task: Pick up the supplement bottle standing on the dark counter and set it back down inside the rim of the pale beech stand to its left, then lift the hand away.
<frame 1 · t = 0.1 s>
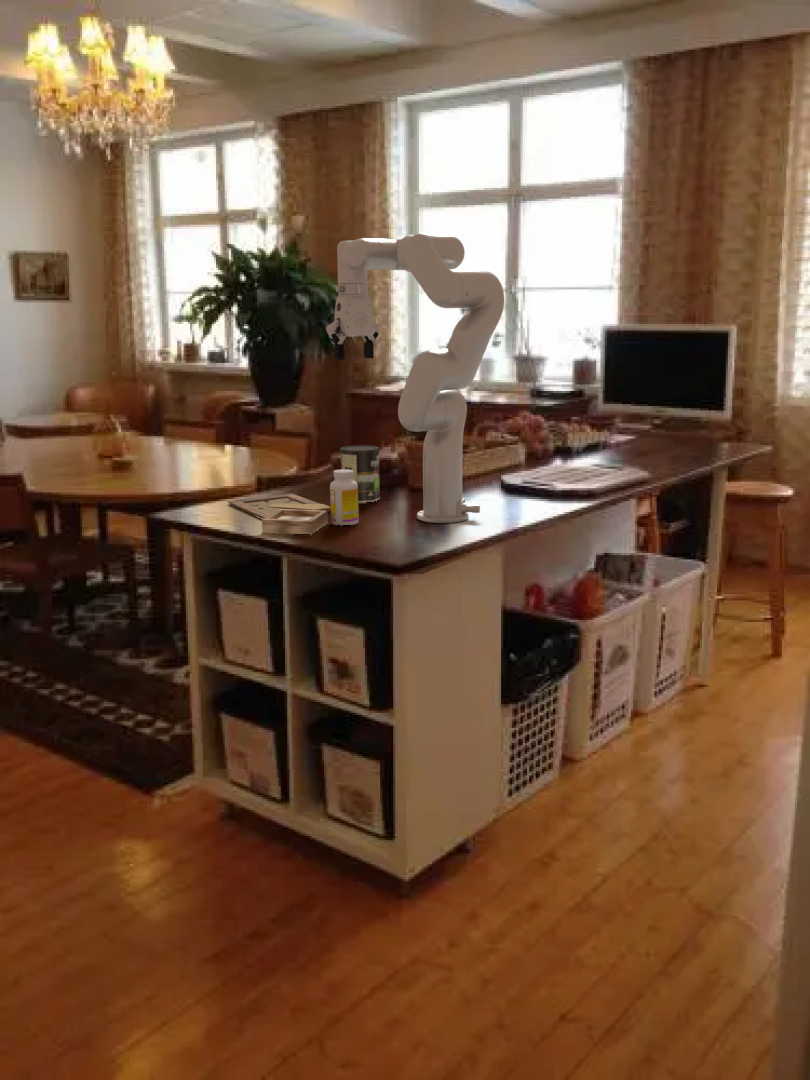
hand: (354, 359, 253), 37 cm above the countertop, tool pointing down, fingers open, 9 cm apart
supplement bottle: (345, 524, 234), on the countertop
stand: (295, 528, 230), on the countertop
coffee can: (360, 500, 262), on the countertop
picture frame: (279, 511, 253), on the countertop
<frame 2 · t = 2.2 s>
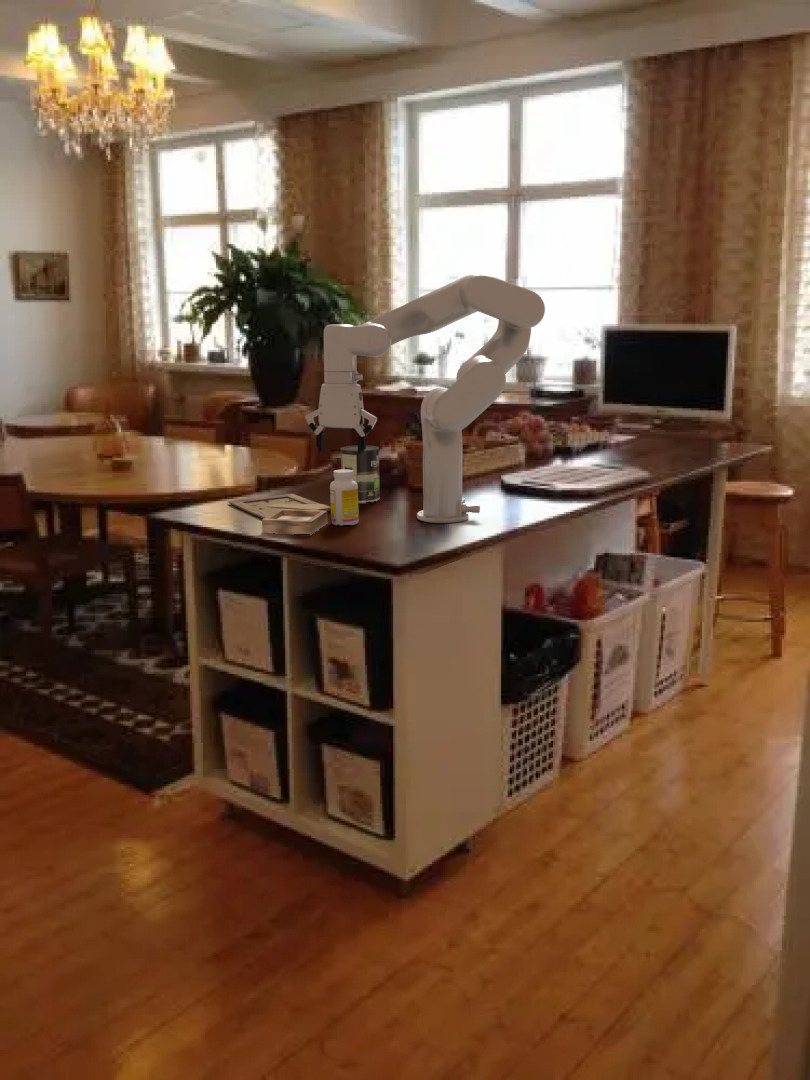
hand: (341, 451, 230), 17 cm above the countertop, tool pointing down, fingers open, 9 cm apart
nothing on the countertop moved.
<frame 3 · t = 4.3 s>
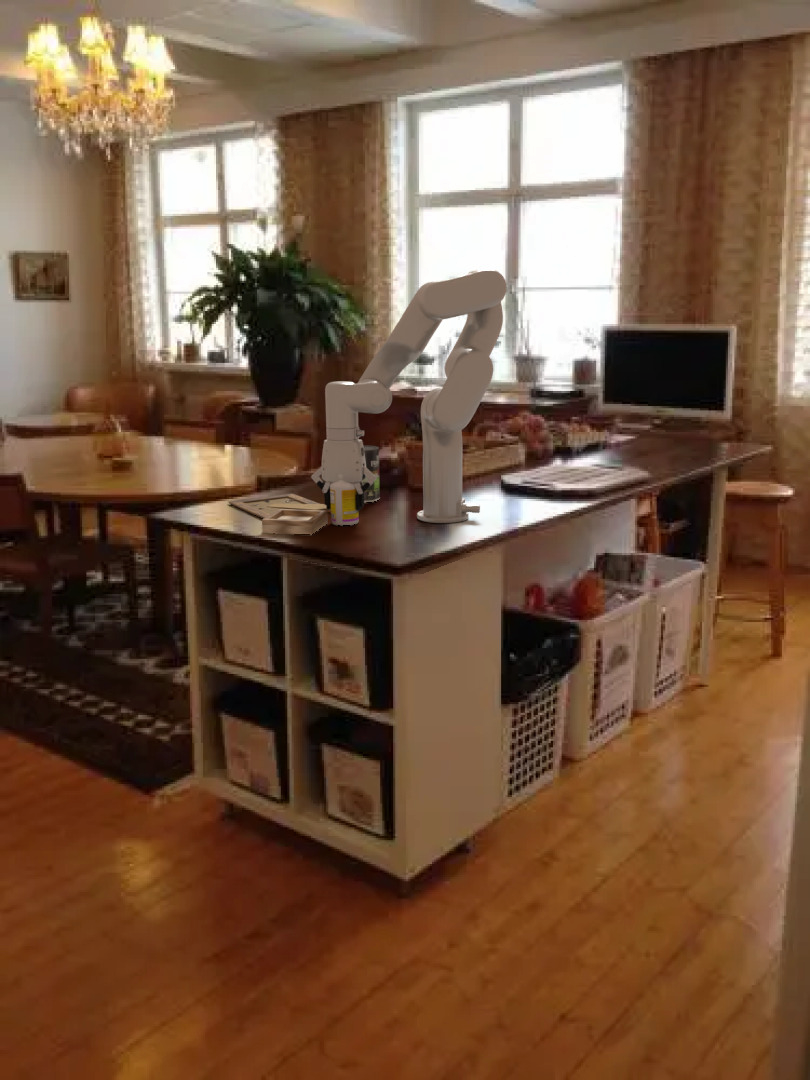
hand: (344, 508, 233), 4 cm above the countertop, tool pointing down, fingers closed on supplement bottle, 6 cm apart
supplement bottle: (344, 524, 234), on the countertop, touching gripper
everything else where it was.
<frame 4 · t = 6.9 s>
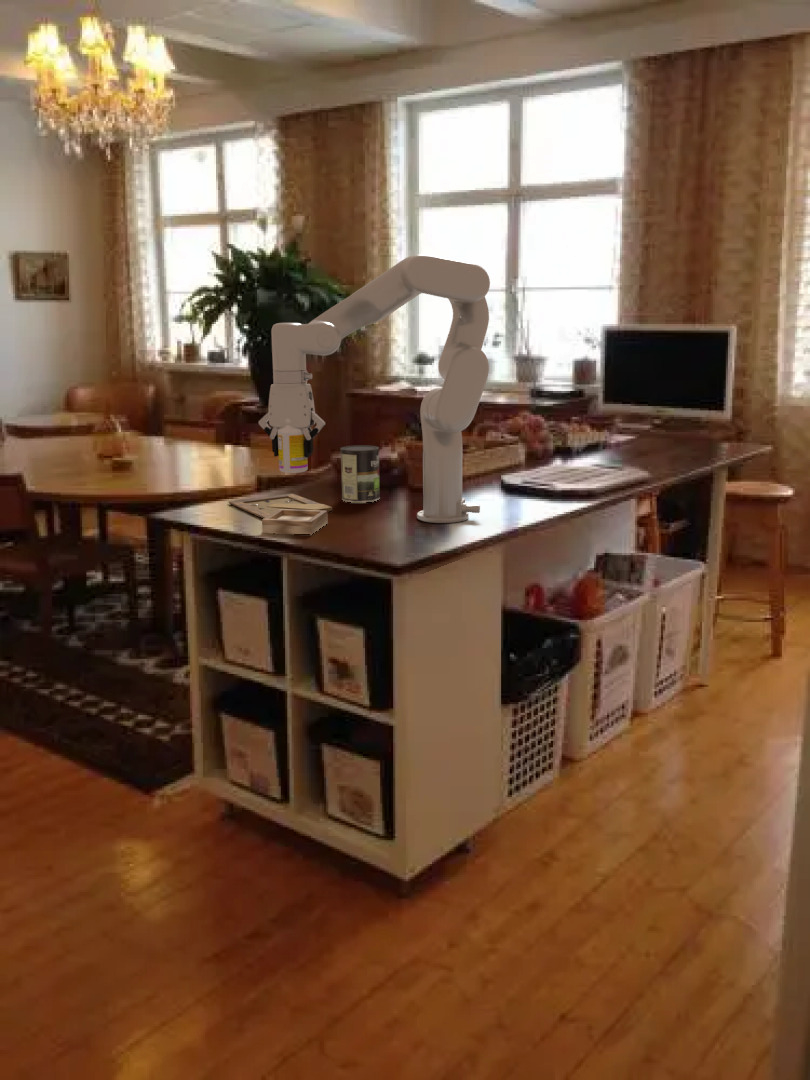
hand: (292, 455, 226), 17 cm above the countertop, tool pointing down, fingers closed on supplement bottle, 6 cm apart
supplement bottle: (293, 472, 227), point 13 cm above the countertop, touching gripper
everything else where it was.
when the fingers open (7 cm above the countertop, at t = 9.5 s): supplement bottle drops 1 cm, resting on stand.
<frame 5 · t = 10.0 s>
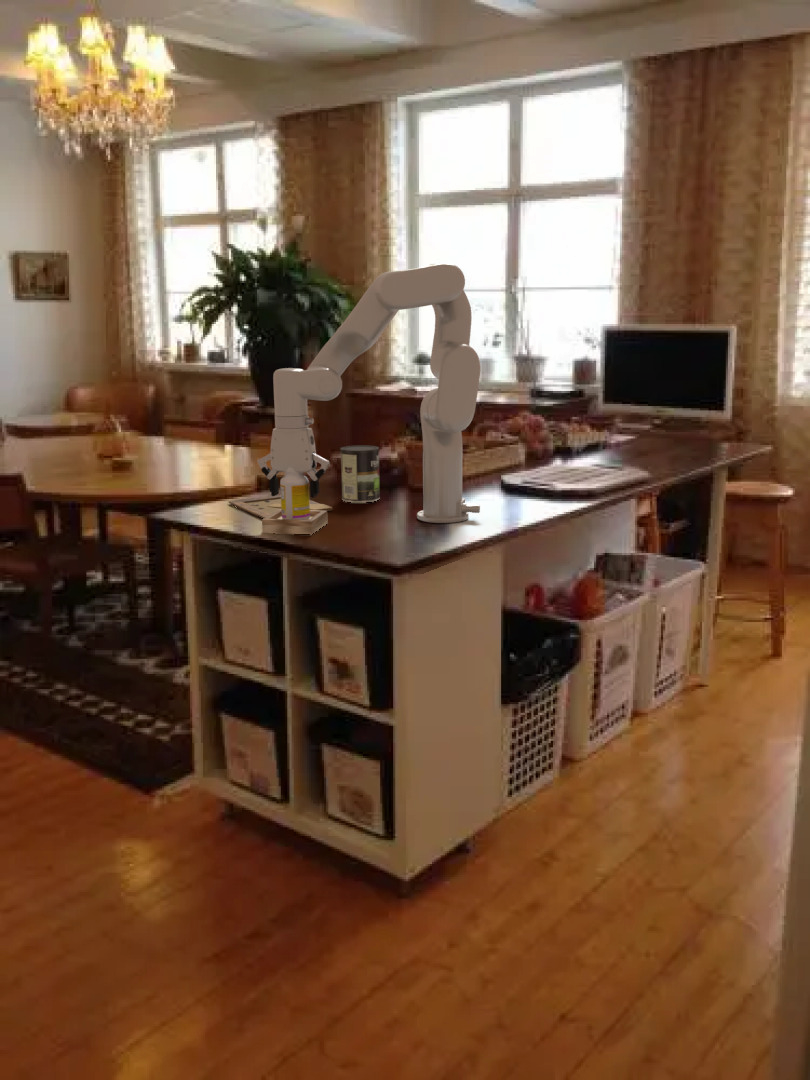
hand: (294, 495, 228), 8 cm above the countertop, tool pointing down, fingers open, 9 cm apart
supplement bottle: (296, 520, 230), point 2 cm above the countertop, touching stand
everything else where it was.
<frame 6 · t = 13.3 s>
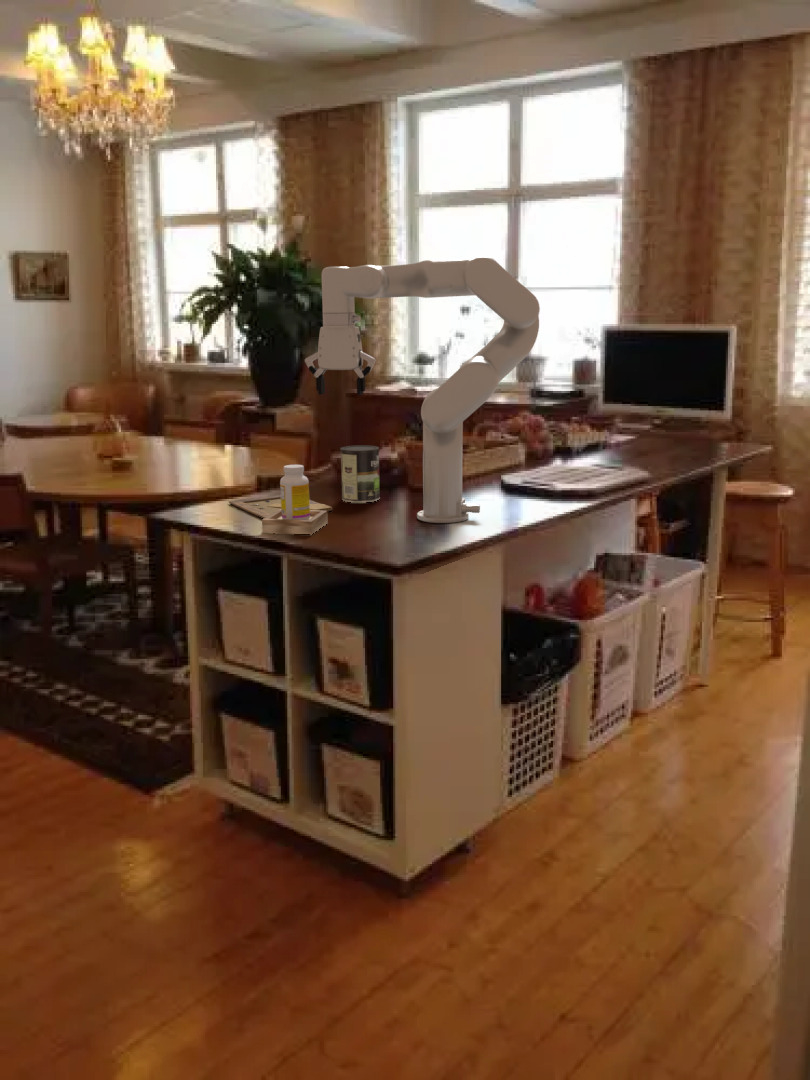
hand: (340, 394, 233), 30 cm above the countertop, tool pointing down, fingers open, 9 cm apart
nothing on the countertop moved.
at the end: supplement bottle 0.1 cm off-centre on the stand, point 1.8 cm above the stand's base; supplement bottle tilted 0°; the gripper is holding nothing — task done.
